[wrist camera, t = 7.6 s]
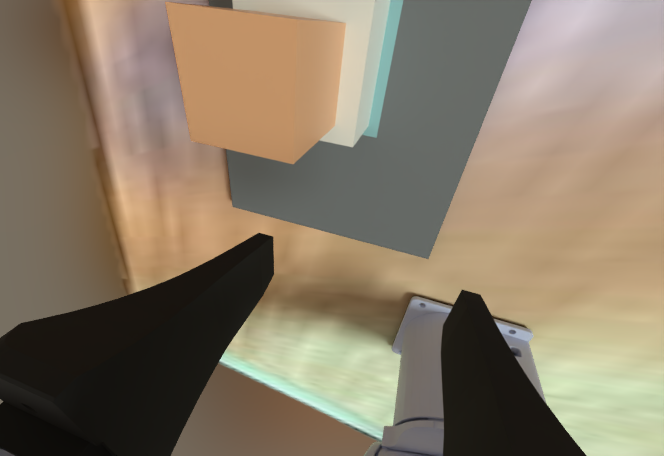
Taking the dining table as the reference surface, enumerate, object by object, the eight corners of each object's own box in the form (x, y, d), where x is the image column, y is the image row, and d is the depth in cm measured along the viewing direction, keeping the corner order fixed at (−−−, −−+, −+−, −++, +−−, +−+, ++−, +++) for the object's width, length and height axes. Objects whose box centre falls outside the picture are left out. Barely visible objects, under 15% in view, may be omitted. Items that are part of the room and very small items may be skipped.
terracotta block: (345, 22, 11) (297, 19, 7) (334, 125, 14) (293, 164, 10) (253, 10, 12) (165, 1, 8) (258, 110, 14) (191, 140, 11)
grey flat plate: (528, -3, 13) (533, -5, 12) (428, 252, 22) (428, 259, 21) (213, -36, 16) (204, -39, 15) (237, 202, 25) (232, 206, 24)
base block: (390, -3, 14) (376, -12, 11) (368, 125, 17) (352, 147, 14) (274, -16, 15) (230, -28, 12) (275, 107, 18) (241, 124, 15)
